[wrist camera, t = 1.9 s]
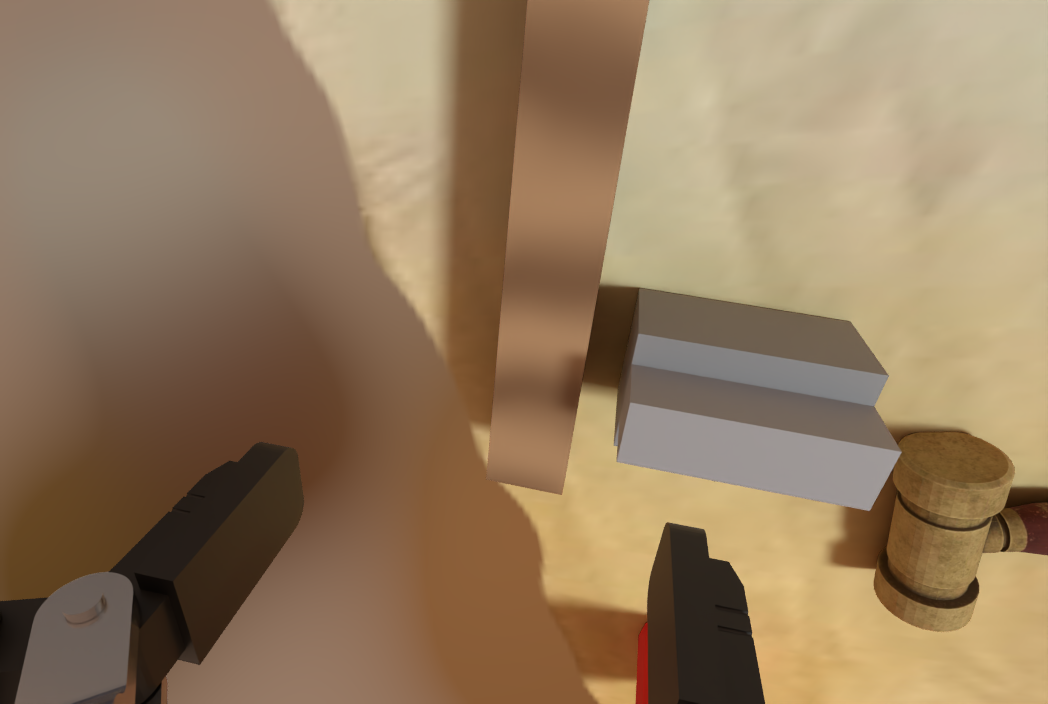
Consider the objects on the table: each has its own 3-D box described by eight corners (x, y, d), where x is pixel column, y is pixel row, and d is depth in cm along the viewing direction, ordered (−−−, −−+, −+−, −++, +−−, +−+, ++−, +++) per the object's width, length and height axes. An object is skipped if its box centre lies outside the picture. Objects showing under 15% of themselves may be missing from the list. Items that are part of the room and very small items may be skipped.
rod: (556, -71, 22) (535, -95, 18) (660, -61, 22) (663, -83, 18) (506, 423, 34) (486, 479, 30) (572, 436, 34) (561, 494, 30)
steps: (639, 287, 28) (637, 369, 22) (850, 321, 27) (919, 419, 20) (617, 388, 31) (610, 488, 25) (807, 422, 30) (855, 537, 23)
